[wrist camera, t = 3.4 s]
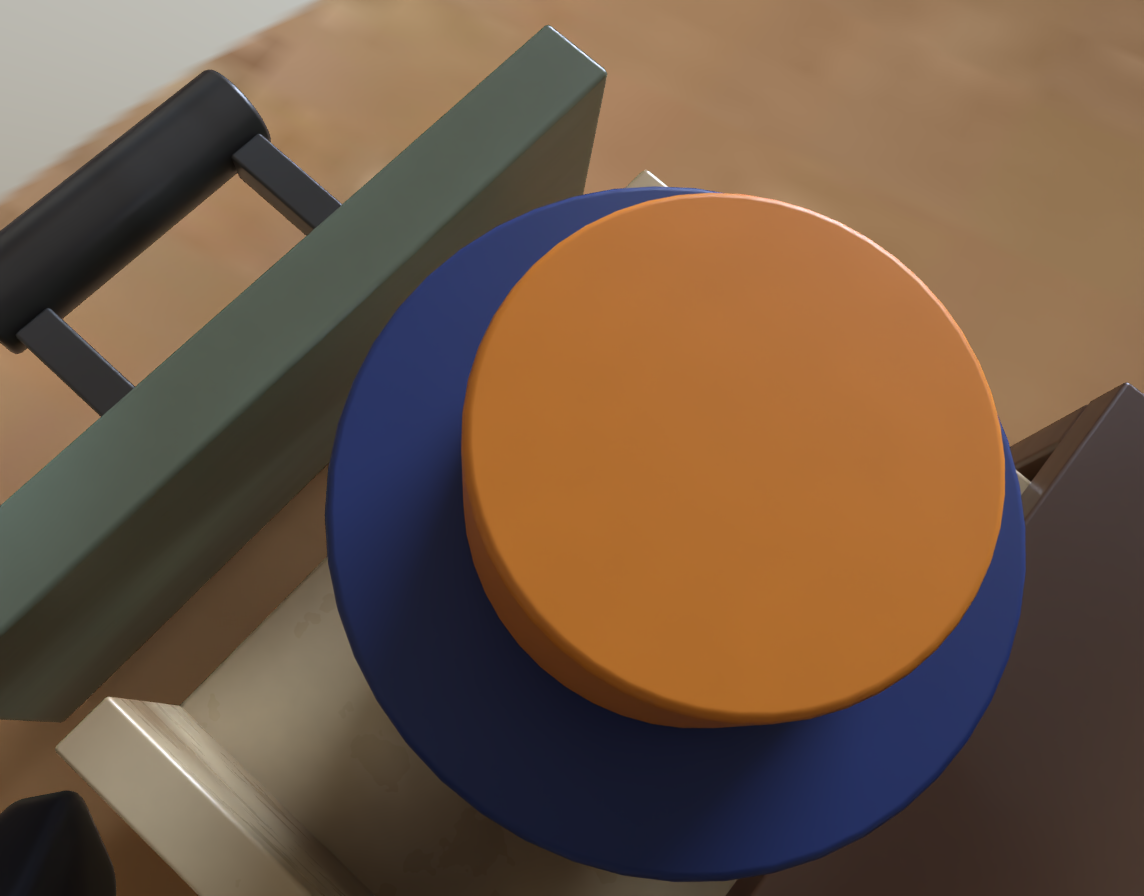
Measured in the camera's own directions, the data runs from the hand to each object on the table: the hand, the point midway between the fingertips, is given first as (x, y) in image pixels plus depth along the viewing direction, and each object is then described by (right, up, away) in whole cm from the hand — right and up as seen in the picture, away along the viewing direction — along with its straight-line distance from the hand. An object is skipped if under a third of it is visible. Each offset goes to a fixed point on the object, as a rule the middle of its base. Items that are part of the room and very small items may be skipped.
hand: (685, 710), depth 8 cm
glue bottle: (-1, -1, +7) cm, 7 cm away
